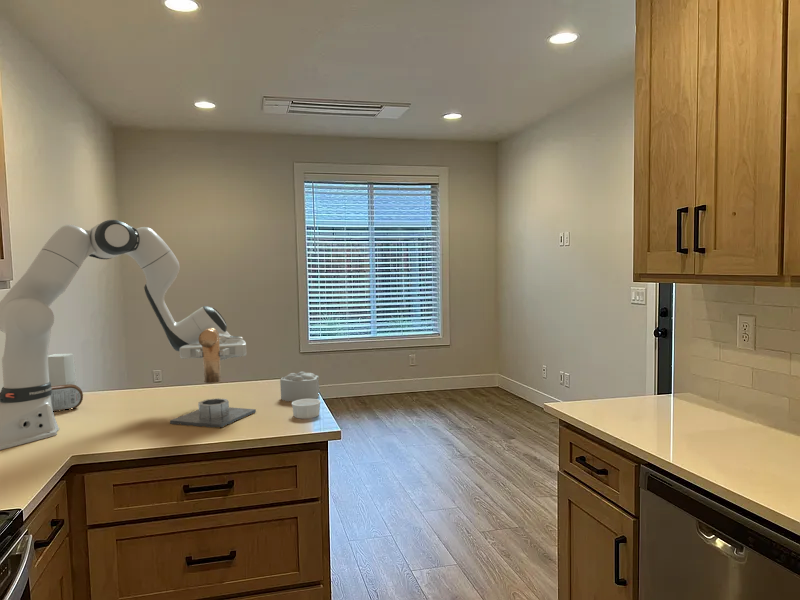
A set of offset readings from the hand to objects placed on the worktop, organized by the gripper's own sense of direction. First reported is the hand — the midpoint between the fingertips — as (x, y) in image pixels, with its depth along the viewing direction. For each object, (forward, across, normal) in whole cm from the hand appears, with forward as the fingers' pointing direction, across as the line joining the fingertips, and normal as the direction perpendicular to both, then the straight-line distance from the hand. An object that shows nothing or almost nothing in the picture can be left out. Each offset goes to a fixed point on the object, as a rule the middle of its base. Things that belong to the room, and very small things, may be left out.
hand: (210, 354), depth 179 cm
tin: (-24, -52, +20) cm, 61 cm away
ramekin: (+4, +28, +20) cm, 35 cm away
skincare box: (-46, -59, +20) cm, 78 cm away
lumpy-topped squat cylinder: (-20, +26, +20) cm, 39 cm away
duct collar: (-1, 0, +20) cm, 20 cm away
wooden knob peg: (+1, 0, +9) cm, 9 cm away
